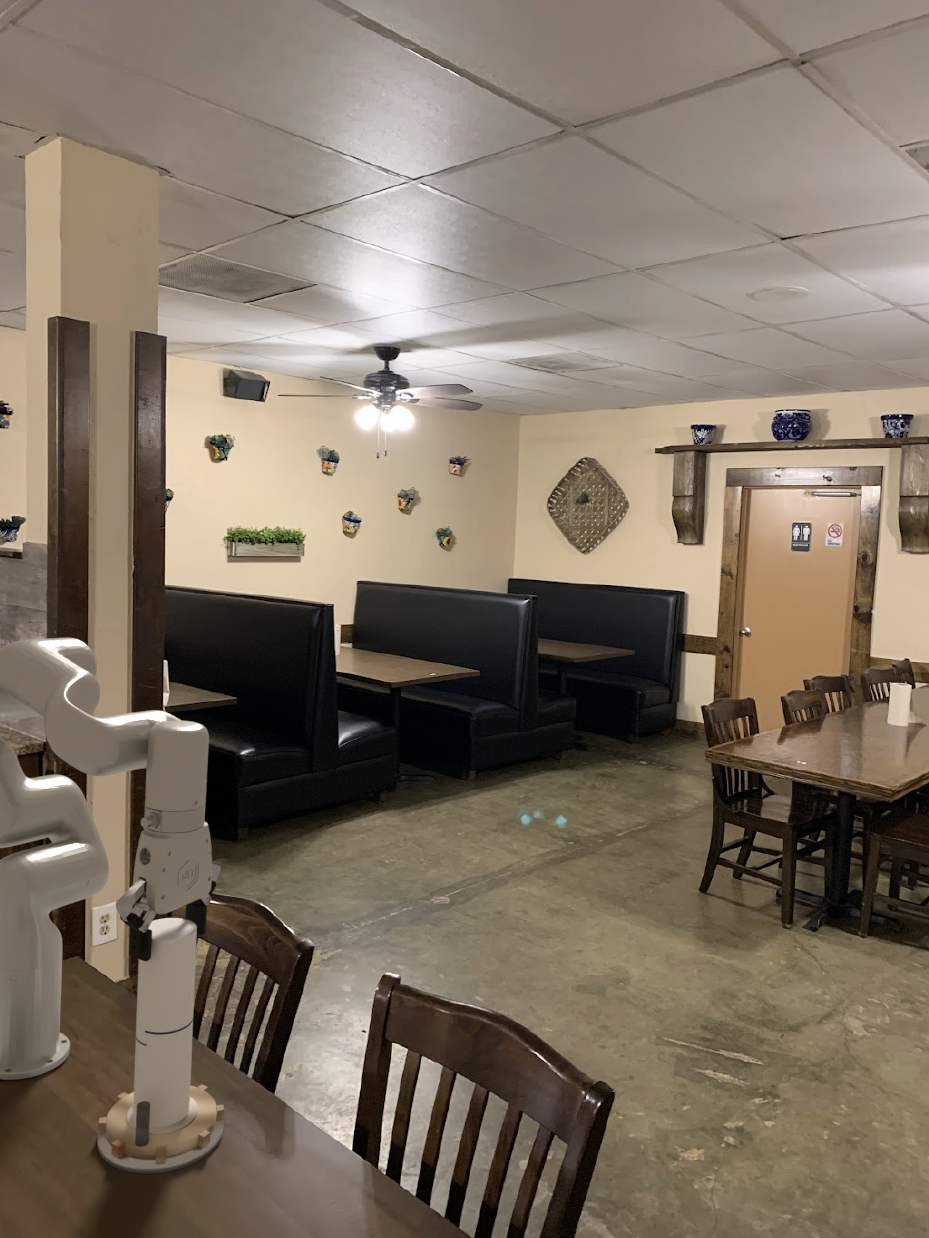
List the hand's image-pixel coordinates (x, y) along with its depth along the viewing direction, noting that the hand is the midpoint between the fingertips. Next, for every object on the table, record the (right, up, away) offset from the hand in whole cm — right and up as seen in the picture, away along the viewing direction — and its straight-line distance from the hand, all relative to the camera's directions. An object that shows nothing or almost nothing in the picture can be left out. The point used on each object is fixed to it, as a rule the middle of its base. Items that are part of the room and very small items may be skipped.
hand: (168, 944), depth 124 cm
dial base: (-1, -26, +2) cm, 26 cm away
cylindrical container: (-1, -23, +2) cm, 23 cm away
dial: (-1, -25, +2) cm, 25 cm away
